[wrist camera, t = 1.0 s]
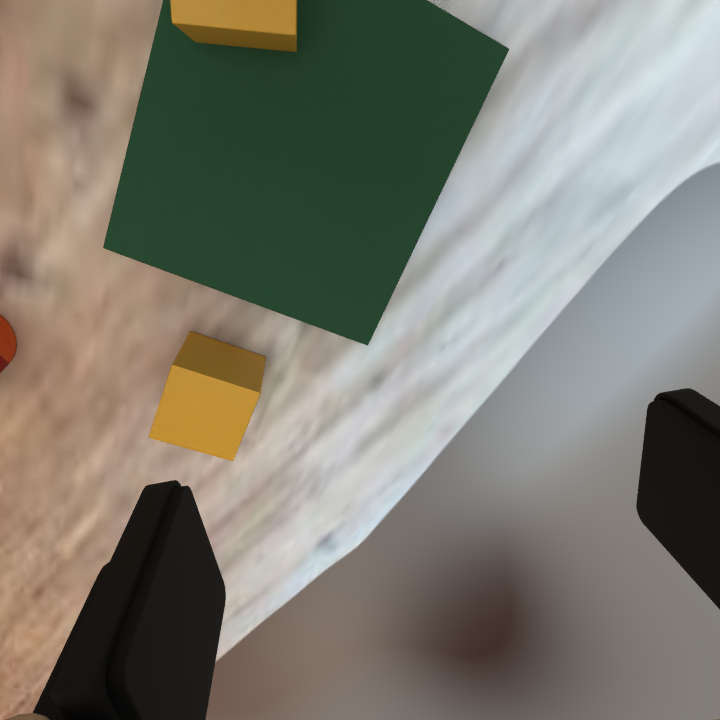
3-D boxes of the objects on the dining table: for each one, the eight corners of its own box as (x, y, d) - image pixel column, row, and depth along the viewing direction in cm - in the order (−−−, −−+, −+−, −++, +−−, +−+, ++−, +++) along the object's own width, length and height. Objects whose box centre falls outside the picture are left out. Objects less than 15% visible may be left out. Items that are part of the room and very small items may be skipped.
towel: (105, 246, 34) (102, 248, 34) (198, -131, 27) (196, -137, 26) (367, 342, 40) (367, 345, 39) (506, 50, 32) (509, 48, 32)
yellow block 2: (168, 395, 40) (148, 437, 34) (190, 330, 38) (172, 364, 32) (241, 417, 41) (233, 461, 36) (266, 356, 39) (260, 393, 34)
